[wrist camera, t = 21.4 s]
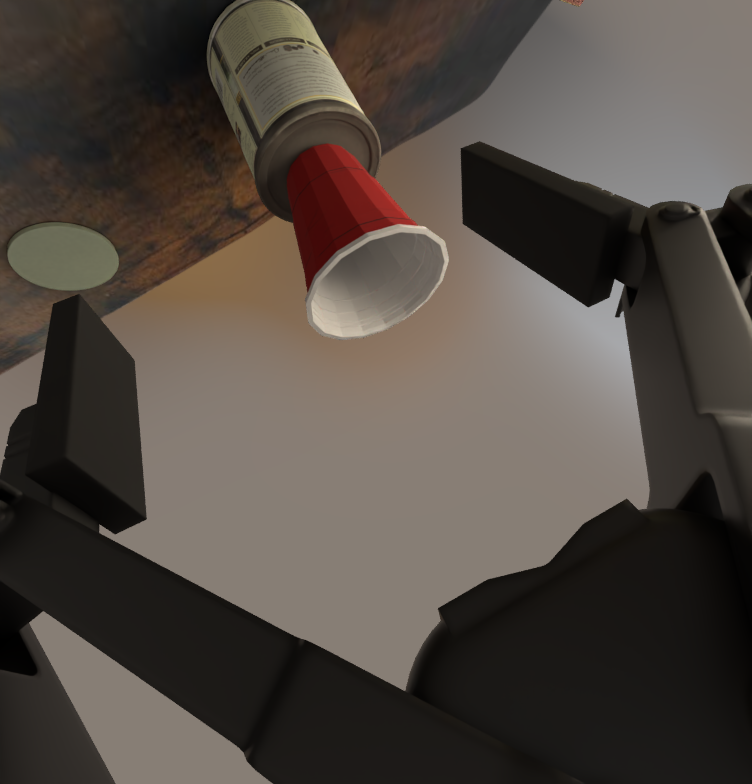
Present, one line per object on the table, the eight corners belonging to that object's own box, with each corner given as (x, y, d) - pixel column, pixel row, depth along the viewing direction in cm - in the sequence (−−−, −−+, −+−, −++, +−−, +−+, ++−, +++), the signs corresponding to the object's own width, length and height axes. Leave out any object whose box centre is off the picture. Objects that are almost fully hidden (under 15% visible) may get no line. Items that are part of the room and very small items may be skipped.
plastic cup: (403, 105, 31) (480, 228, 27) (365, 221, 40) (419, 325, 37) (254, 102, 27) (321, 248, 23) (251, 232, 36) (298, 352, 32)
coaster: (53, 297, 51) (54, 301, 51) (-21, 242, 42) (-21, 247, 42) (135, 268, 53) (136, 272, 52) (80, 209, 43) (81, 213, 43)
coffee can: (338, 77, 42) (396, 180, 37) (253, 138, 44) (298, 243, 39) (283, -43, 32) (353, 76, 28) (177, 42, 34) (227, 166, 30)
